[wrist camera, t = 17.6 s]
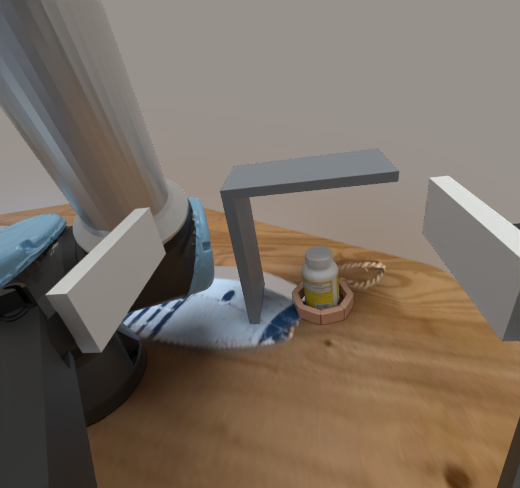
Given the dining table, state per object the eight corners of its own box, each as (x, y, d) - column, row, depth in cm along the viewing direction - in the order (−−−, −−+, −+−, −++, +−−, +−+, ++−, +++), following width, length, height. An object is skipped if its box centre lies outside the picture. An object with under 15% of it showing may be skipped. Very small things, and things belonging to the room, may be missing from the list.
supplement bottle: (321, 288, 53) (317, 239, 48) (346, 303, 49) (346, 251, 44) (298, 304, 51) (292, 254, 46) (323, 320, 47) (320, 268, 42)
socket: (284, 312, 49) (283, 302, 48) (310, 280, 55) (309, 271, 54) (337, 331, 44) (337, 321, 43) (360, 294, 50) (360, 284, 49)
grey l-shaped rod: (387, 318, 45) (399, 170, 34) (250, 324, 48) (219, 190, 37) (372, 277, 54) (377, 148, 43) (256, 284, 57) (233, 166, 46)
